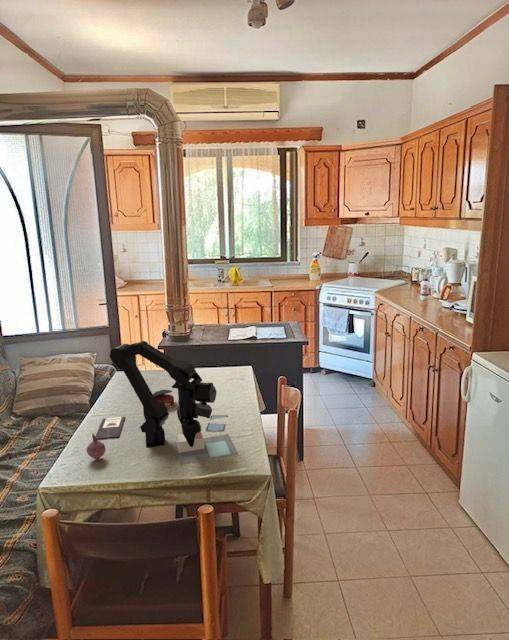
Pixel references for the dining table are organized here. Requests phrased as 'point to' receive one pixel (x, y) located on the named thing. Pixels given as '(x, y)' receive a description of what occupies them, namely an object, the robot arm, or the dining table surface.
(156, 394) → the canned food
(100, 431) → the chocolate bar
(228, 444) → the mat
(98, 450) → the vegetable
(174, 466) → the dining table surface
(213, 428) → the smartphone
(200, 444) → the card box
